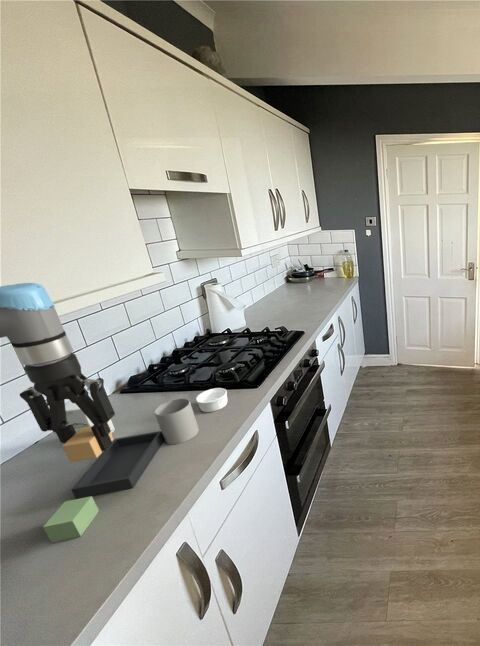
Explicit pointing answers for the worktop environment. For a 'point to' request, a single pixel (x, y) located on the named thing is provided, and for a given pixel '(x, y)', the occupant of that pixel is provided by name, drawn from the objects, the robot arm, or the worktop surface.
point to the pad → (71, 519)
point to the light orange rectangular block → (83, 445)
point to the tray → (119, 465)
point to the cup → (176, 421)
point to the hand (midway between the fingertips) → (92, 449)
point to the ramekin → (212, 399)
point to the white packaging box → (80, 417)
